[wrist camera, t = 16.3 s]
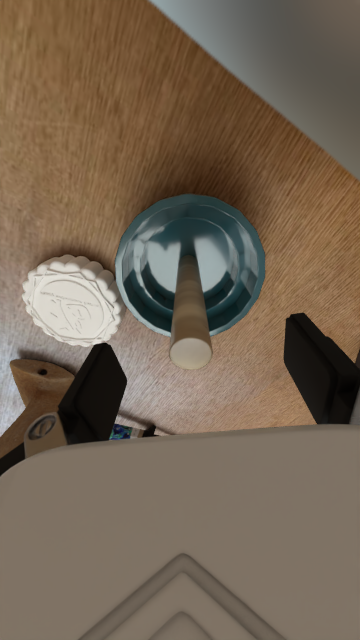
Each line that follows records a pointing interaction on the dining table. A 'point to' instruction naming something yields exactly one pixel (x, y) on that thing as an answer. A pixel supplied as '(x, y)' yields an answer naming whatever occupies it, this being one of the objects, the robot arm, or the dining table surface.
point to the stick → (189, 319)
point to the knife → (130, 432)
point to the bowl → (195, 240)
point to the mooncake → (74, 300)
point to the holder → (358, 360)
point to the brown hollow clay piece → (34, 396)
